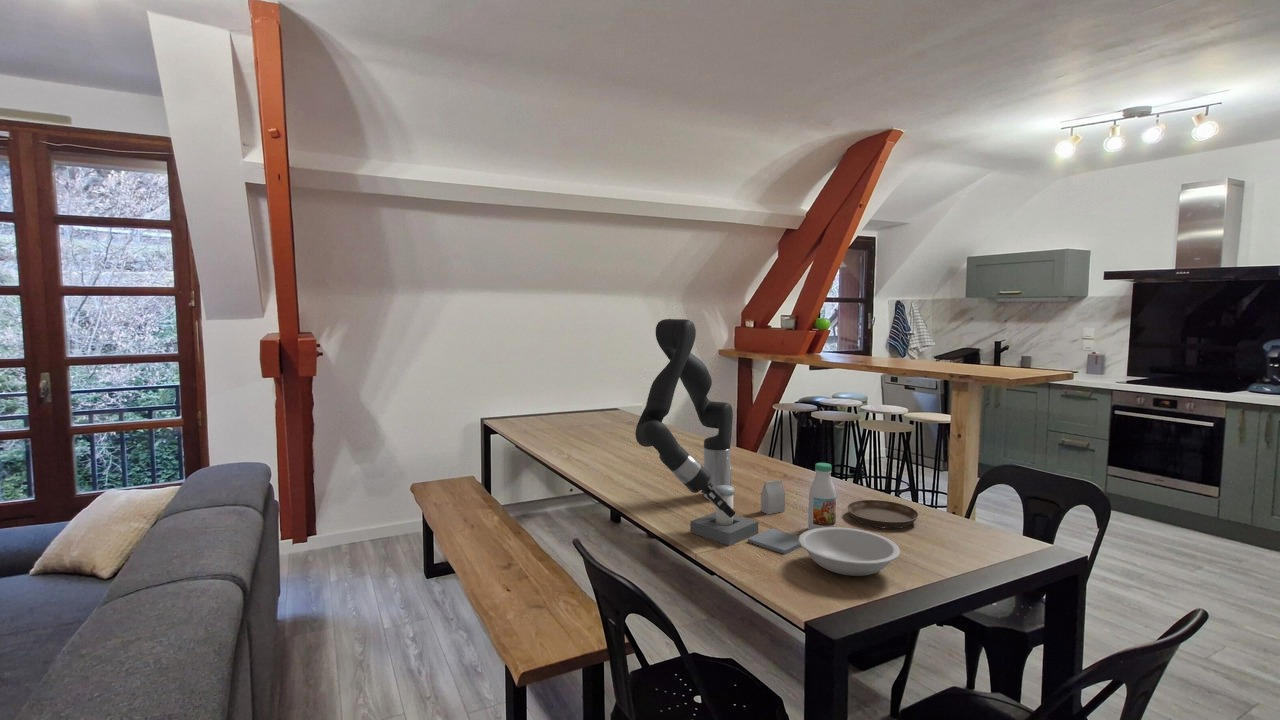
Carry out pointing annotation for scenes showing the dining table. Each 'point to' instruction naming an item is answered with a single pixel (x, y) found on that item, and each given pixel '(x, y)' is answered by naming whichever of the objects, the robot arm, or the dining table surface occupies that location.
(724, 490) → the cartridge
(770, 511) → the white paper packet
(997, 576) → the dining table surface
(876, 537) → the soup bowl
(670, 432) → the robot arm
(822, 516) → the milk bottle
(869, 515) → the plant saucer
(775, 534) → the mat
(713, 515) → the housing
